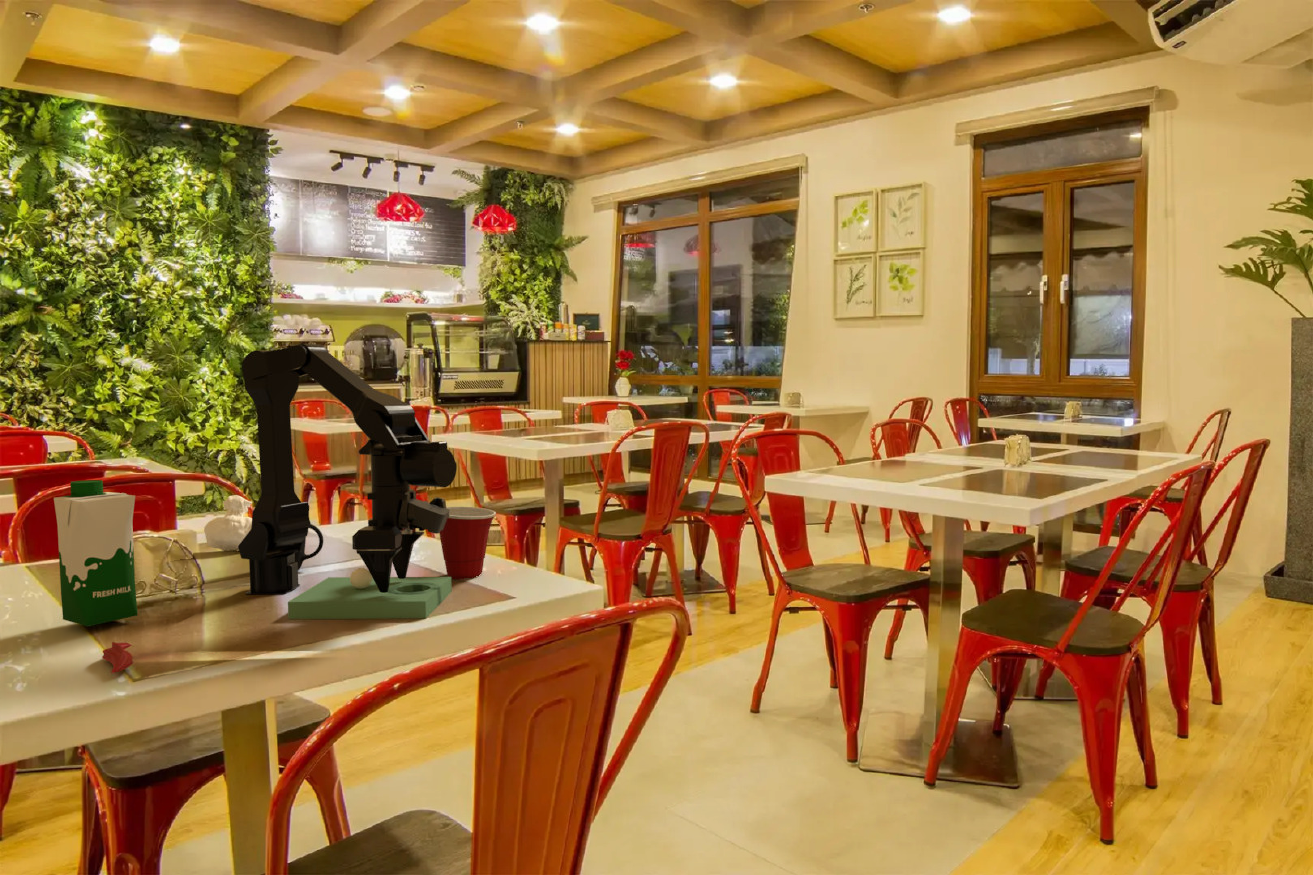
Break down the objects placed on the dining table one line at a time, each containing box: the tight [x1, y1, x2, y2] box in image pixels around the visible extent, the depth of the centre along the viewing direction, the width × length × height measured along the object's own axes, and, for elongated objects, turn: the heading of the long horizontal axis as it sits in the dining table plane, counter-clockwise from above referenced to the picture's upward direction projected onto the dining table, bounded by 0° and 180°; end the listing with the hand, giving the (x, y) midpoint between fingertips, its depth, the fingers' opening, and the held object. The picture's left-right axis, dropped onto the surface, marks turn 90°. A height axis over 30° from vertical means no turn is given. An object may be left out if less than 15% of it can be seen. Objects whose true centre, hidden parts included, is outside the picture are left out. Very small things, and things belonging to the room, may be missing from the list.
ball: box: [349, 567, 372, 589], centre depth 137 cm, size 3×3×3 cm
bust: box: [203, 494, 253, 552], centre depth 181 cm, size 12×8×11 cm, turn 91°
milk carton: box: [53, 479, 138, 627], centre depth 130 cm, size 9×9×20 cm
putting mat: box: [287, 576, 452, 620], centre depth 137 cm, size 20×16×2 cm
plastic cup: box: [438, 506, 497, 580], centre depth 156 cm, size 11×11×12 cm
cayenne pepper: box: [101, 641, 134, 674], centre depth 112 cm, size 12×5×2 cm, turn 16°
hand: (393, 585), depth 137 cm, fingers open, 9 cm apart
